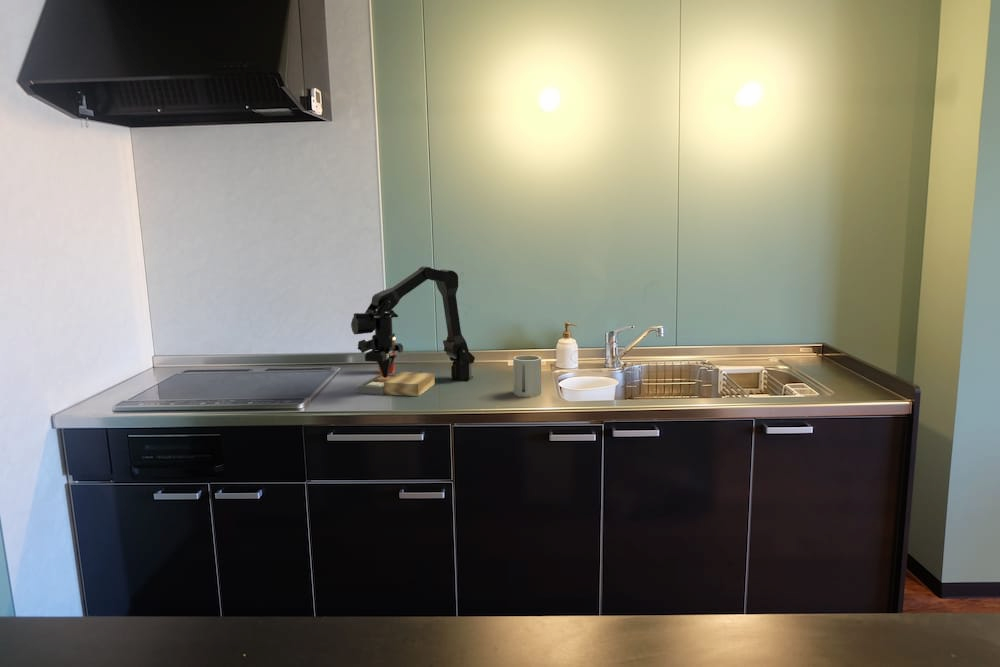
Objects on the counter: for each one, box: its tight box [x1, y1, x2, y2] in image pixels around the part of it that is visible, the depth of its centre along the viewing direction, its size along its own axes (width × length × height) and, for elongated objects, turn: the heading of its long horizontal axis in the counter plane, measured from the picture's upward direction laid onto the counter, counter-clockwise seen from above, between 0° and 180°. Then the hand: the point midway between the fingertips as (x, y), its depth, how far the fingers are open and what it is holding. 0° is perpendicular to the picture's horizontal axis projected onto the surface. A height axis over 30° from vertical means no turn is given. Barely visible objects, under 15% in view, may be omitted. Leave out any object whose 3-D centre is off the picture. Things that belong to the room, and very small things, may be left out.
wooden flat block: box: [384, 371, 436, 397], centre depth 233 cm, size 12×16×4 cm
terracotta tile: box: [377, 376, 392, 382], centre depth 240 cm, size 4×4×2 cm
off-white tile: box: [366, 382, 384, 387], centre depth 232 cm, size 4×4×2 cm
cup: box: [512, 354, 542, 398], centre depth 226 cm, size 9×9×12 cm
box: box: [357, 373, 397, 396], centre depth 236 cm, size 9×18×2 cm, turn 166°
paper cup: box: [377, 336, 397, 375], centre depth 258 cm, size 8×8×14 cm
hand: (385, 377), depth 230 cm, fingers closed
